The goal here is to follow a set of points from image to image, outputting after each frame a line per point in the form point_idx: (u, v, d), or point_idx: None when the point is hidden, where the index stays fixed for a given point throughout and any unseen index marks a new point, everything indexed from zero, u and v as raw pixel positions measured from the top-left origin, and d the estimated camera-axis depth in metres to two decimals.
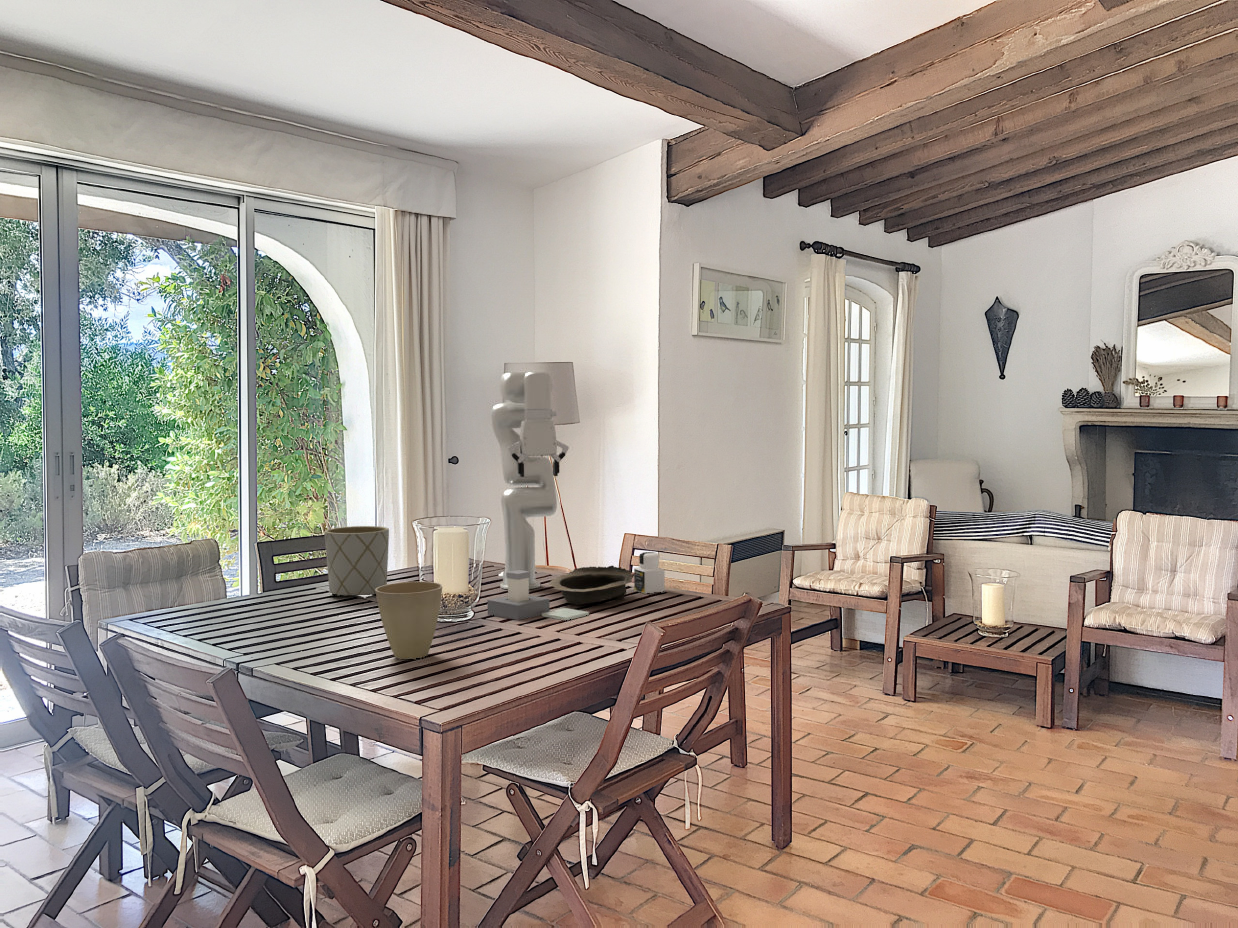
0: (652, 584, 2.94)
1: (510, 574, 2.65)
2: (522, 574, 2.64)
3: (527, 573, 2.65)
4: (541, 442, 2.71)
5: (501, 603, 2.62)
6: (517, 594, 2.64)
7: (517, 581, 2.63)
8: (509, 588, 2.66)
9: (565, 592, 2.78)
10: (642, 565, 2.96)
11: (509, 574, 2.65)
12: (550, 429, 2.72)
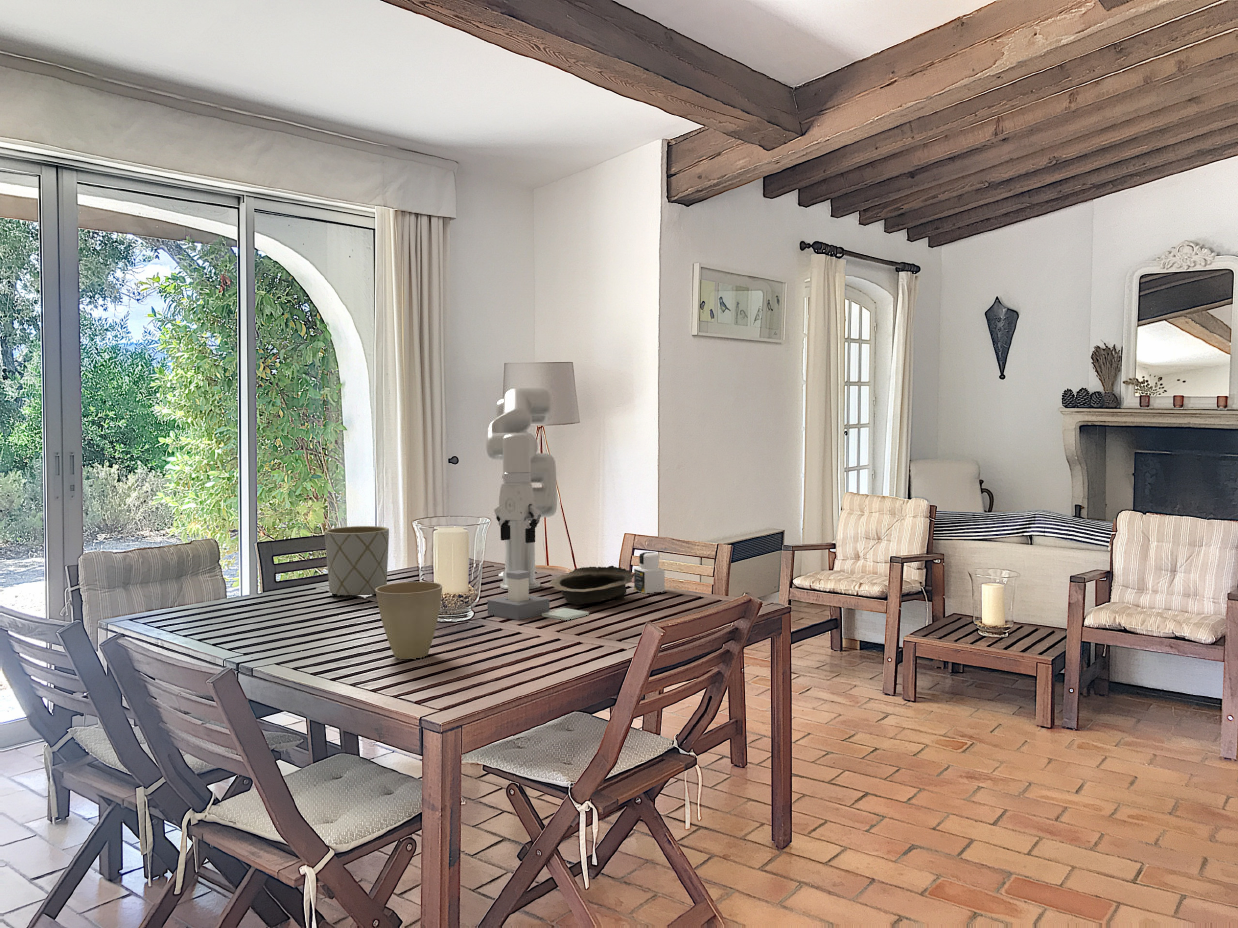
0: (652, 584, 2.94)
1: (510, 574, 2.65)
2: (522, 574, 2.64)
3: (527, 573, 2.66)
4: None
5: (501, 603, 2.62)
6: (517, 594, 2.64)
7: (517, 581, 2.63)
8: (509, 588, 2.66)
9: (565, 592, 2.78)
10: (642, 565, 2.96)
11: (509, 574, 2.65)
12: None
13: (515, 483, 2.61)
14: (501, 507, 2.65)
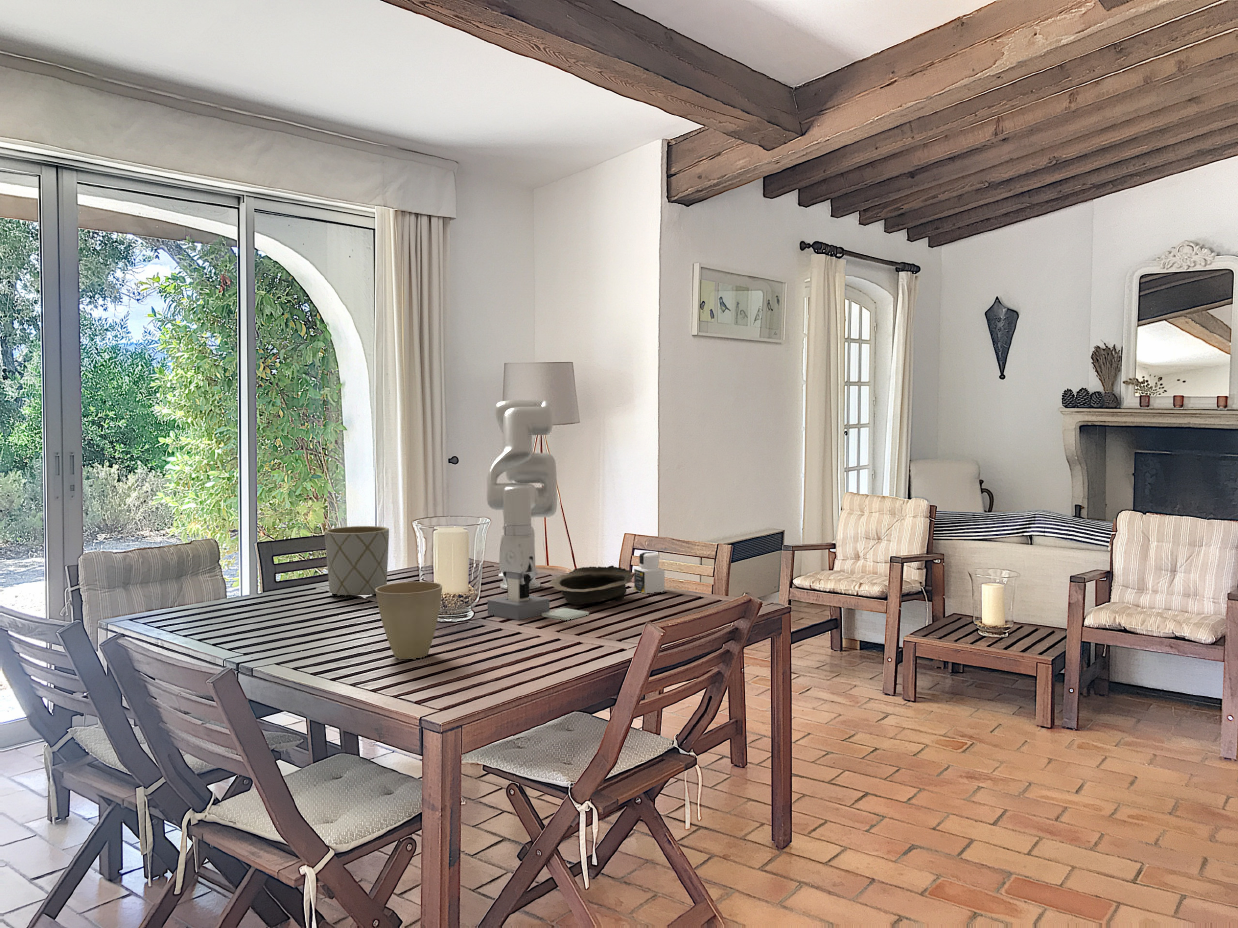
0: (652, 584, 2.94)
1: (510, 574, 2.65)
2: None
3: None
4: None
5: (501, 603, 2.62)
6: (517, 594, 2.64)
7: (517, 581, 2.63)
8: (509, 588, 2.66)
9: (565, 592, 2.78)
10: (642, 565, 2.96)
11: (509, 574, 2.65)
12: None
13: (516, 535, 2.62)
14: (502, 559, 2.66)
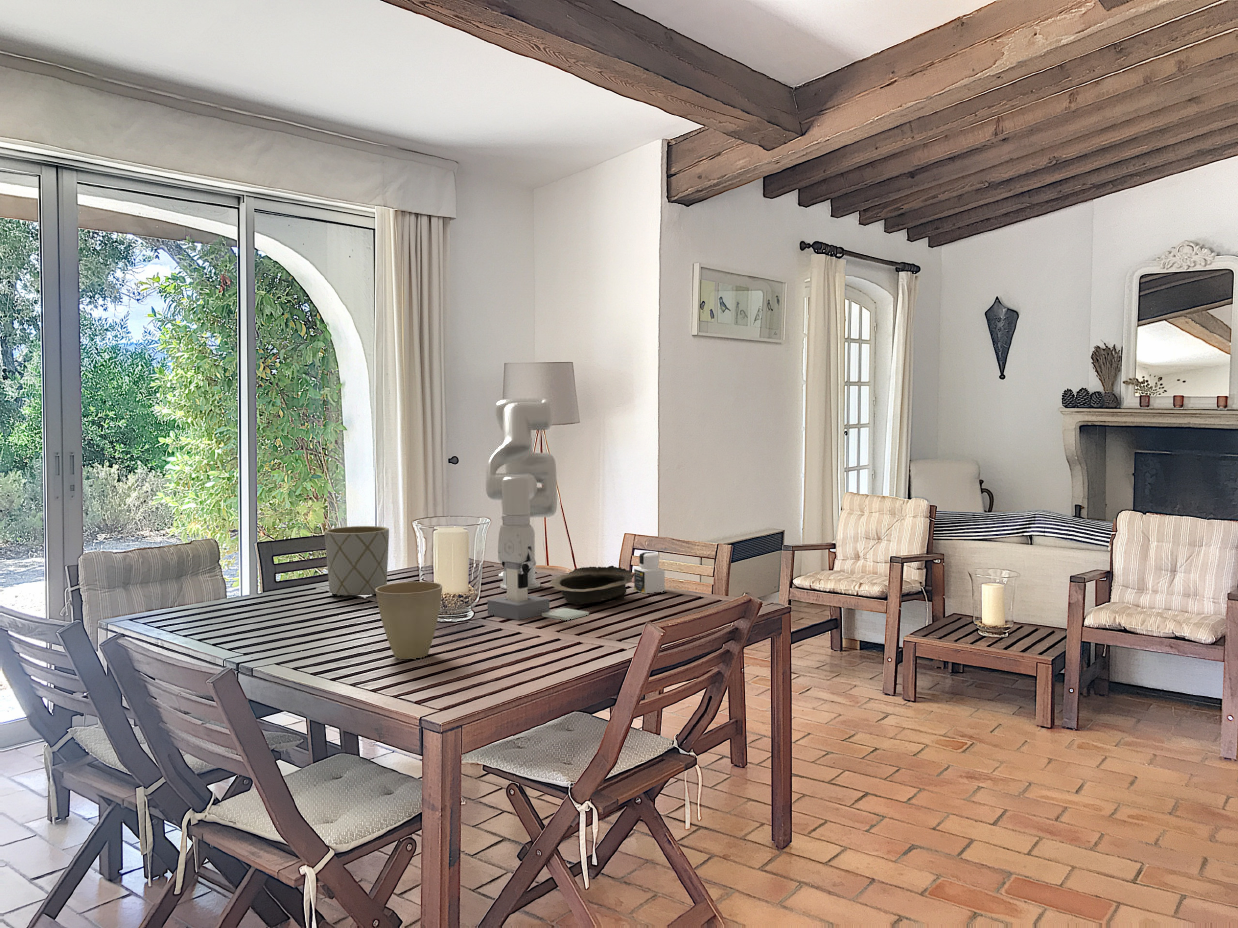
0: (652, 584, 2.94)
1: (509, 564, 2.65)
2: None
3: None
4: None
5: (501, 603, 2.62)
6: (515, 584, 2.64)
7: (516, 571, 2.64)
8: (508, 578, 2.66)
9: (565, 592, 2.78)
10: (642, 565, 2.96)
11: (508, 564, 2.65)
12: None
13: (514, 525, 2.62)
14: (500, 549, 2.66)
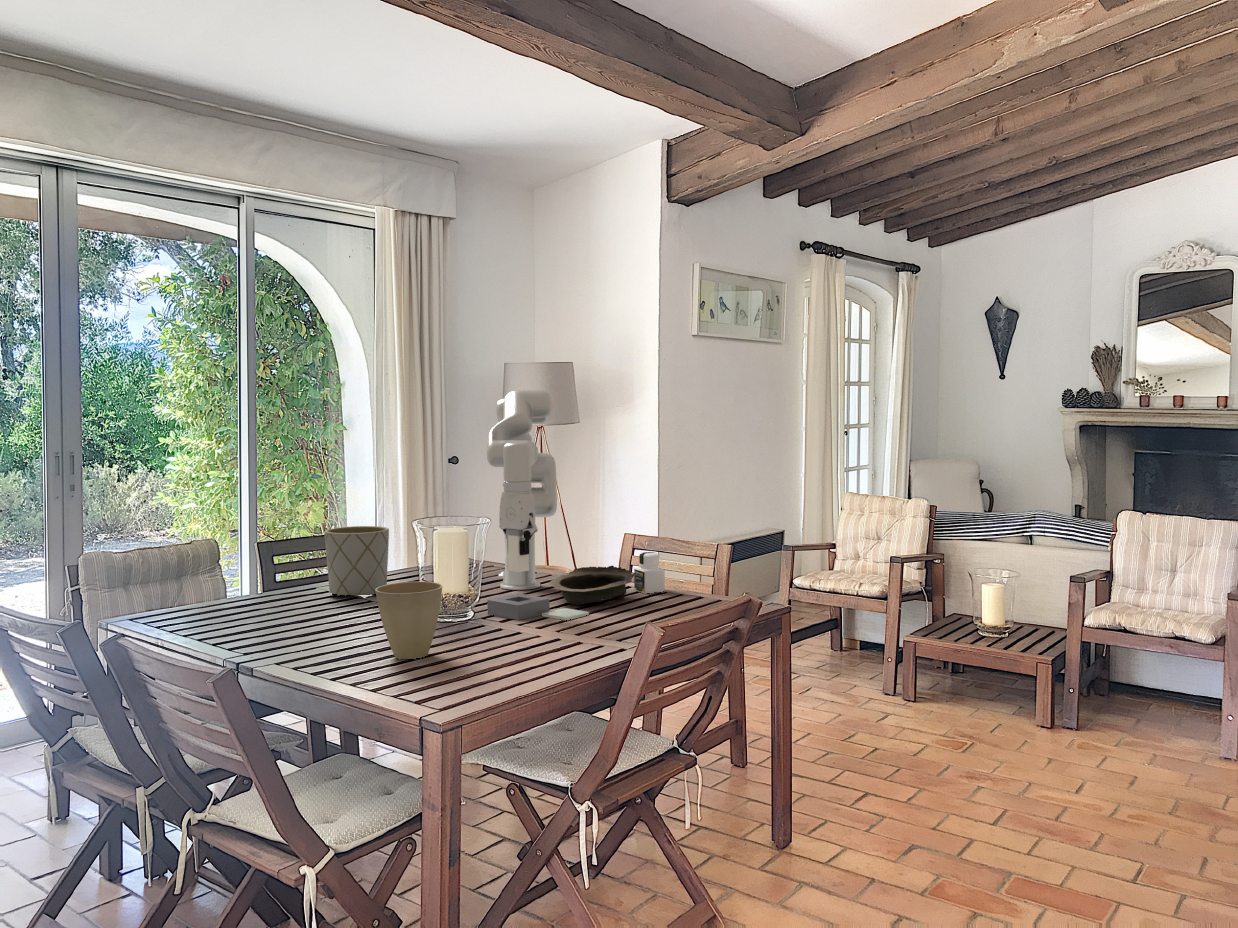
0: (652, 584, 2.94)
1: (510, 531, 2.64)
2: None
3: None
4: None
5: (501, 603, 2.62)
6: (517, 551, 2.63)
7: (517, 538, 2.63)
8: (509, 545, 2.65)
9: (565, 592, 2.78)
10: (642, 565, 2.96)
11: (509, 531, 2.64)
12: None
13: (516, 492, 2.61)
14: (502, 515, 2.65)
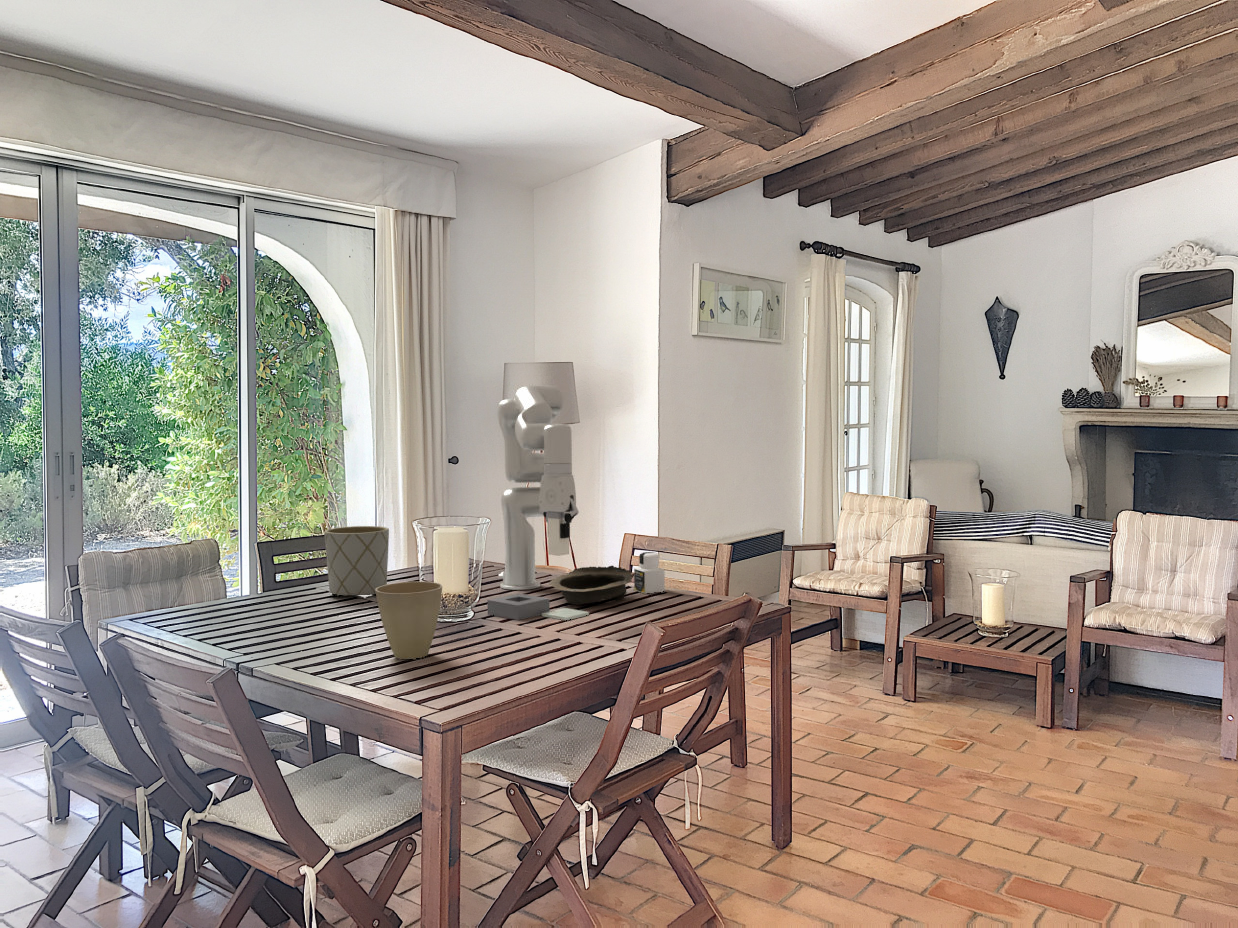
0: (652, 584, 2.94)
1: (550, 514, 2.61)
2: None
3: None
4: None
5: (501, 603, 2.62)
6: (557, 534, 2.60)
7: (557, 520, 2.60)
8: (549, 528, 2.62)
9: (565, 592, 2.78)
10: (642, 565, 2.96)
11: (549, 514, 2.61)
12: None
13: (556, 474, 2.58)
14: (542, 498, 2.62)
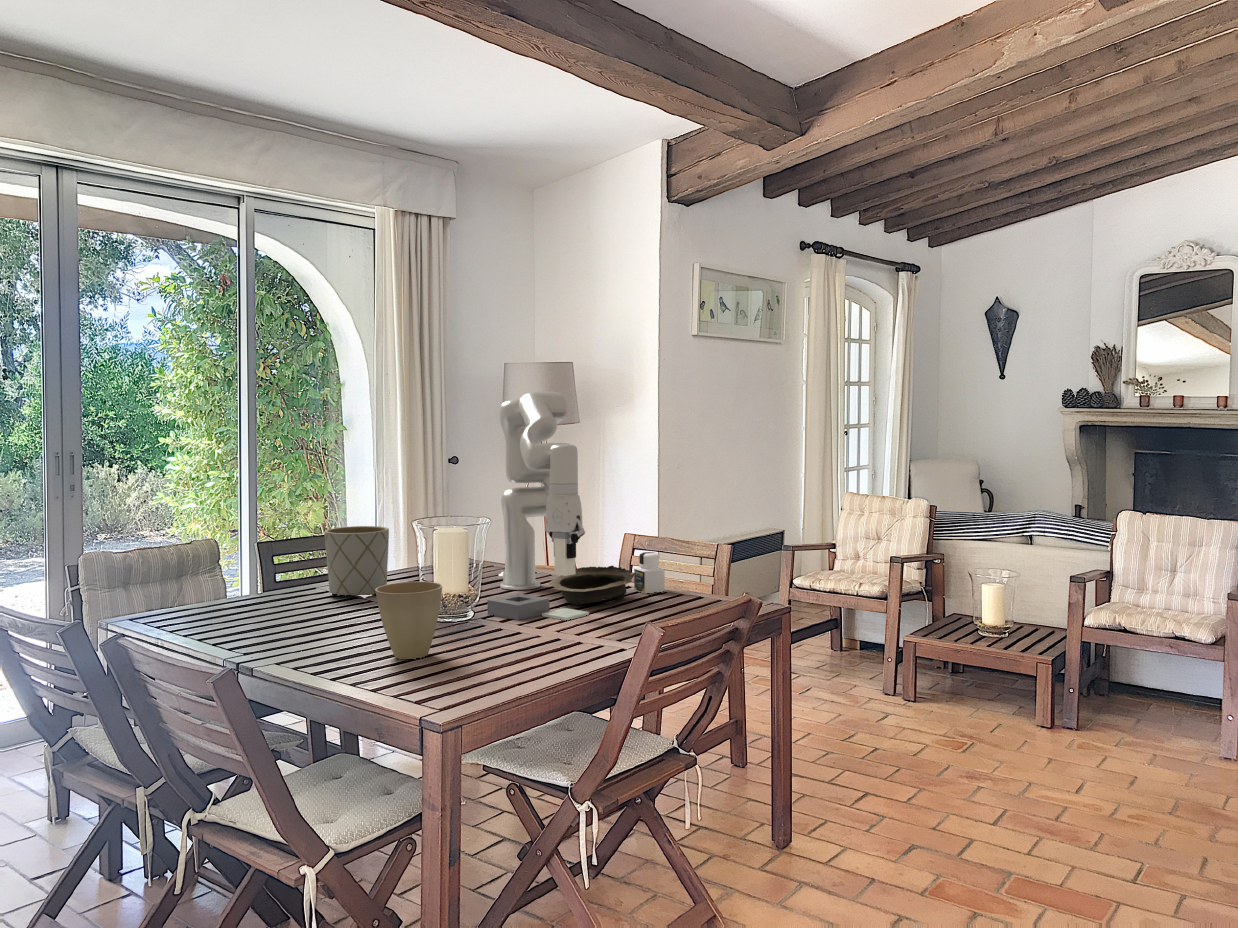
0: (652, 584, 2.94)
1: (557, 534, 2.61)
2: None
3: None
4: None
5: (501, 603, 2.62)
6: (564, 554, 2.60)
7: (564, 541, 2.60)
8: (555, 548, 2.62)
9: (565, 592, 2.78)
10: (642, 565, 2.96)
11: (556, 534, 2.61)
12: None
13: (563, 494, 2.58)
14: (548, 518, 2.62)
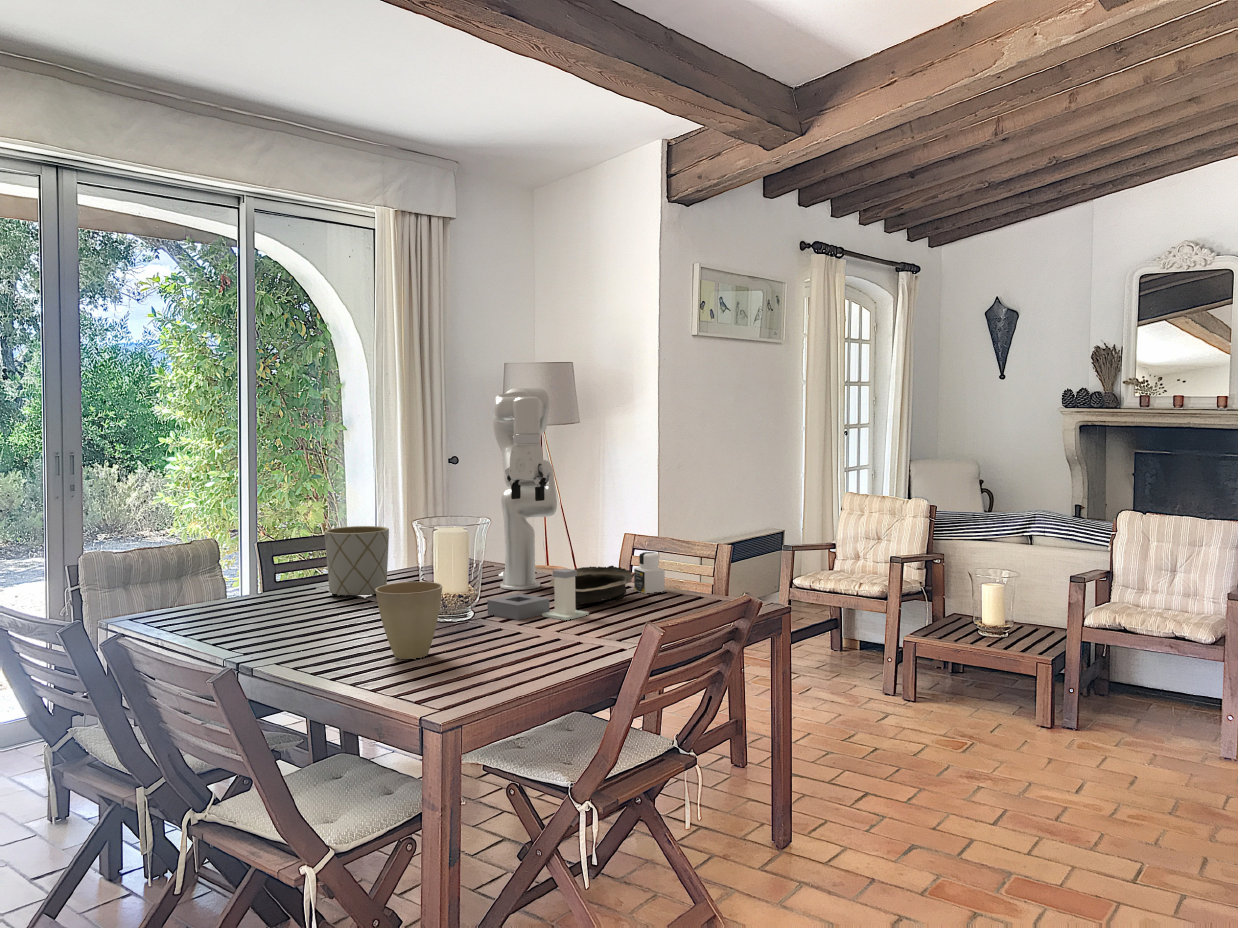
0: (652, 584, 2.94)
1: (557, 572, 2.62)
2: (569, 572, 2.61)
3: (574, 571, 2.62)
4: None
5: (501, 603, 2.62)
6: (564, 593, 2.61)
7: (564, 580, 2.60)
8: (555, 587, 2.63)
9: None
10: (642, 565, 2.96)
11: (556, 572, 2.62)
12: None
13: (525, 443, 2.73)
14: (512, 467, 2.77)
